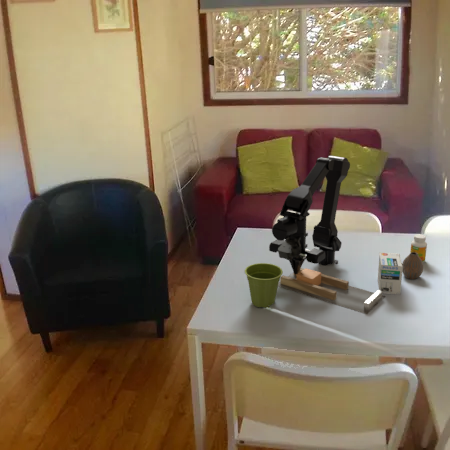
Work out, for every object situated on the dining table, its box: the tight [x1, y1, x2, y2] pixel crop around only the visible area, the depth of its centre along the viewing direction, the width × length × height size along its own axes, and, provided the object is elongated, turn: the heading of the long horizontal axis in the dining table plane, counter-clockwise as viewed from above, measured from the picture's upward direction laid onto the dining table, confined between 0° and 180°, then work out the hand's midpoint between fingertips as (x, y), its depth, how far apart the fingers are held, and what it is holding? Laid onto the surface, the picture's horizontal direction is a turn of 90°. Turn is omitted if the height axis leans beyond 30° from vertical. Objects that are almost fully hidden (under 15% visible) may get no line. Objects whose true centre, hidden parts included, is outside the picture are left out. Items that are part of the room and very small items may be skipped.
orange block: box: [296, 268, 322, 286], centre depth 179 cm, size 6×6×4 cm
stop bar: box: [364, 289, 383, 311], centre depth 166 cm, size 10×2×2 cm, turn 142°
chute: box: [278, 267, 386, 315], centre depth 175 cm, size 14×33×3 cm, turn 52°
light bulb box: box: [377, 252, 403, 295], centre depth 176 cm, size 11×7×11 cm, turn 168°
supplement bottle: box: [409, 233, 428, 263], centre depth 196 cm, size 5×5×10 cm
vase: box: [401, 252, 424, 280], centre depth 184 cm, size 7×7×9 cm
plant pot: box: [244, 262, 283, 309], centre depth 169 cm, size 12×12×11 cm
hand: (296, 273), depth 182 cm, fingers closed
